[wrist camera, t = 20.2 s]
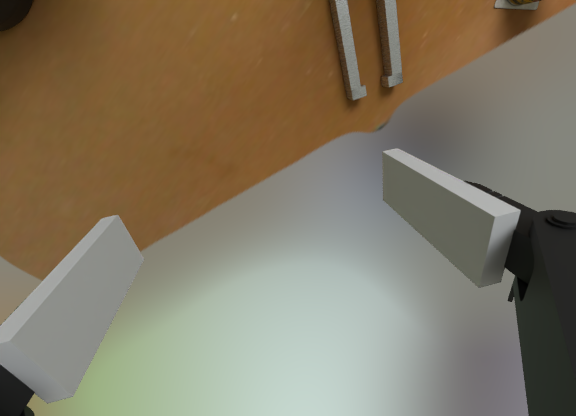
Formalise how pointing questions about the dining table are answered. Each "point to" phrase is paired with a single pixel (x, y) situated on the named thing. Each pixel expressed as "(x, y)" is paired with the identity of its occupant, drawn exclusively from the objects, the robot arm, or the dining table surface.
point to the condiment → (517, 4)
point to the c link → (347, 49)
